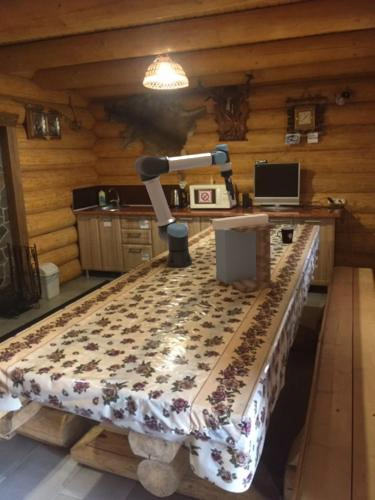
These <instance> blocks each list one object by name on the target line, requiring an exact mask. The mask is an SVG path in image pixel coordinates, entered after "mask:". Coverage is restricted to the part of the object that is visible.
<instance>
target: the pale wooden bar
mask: <svg viewBox="0 0 375 500" xmlns="http://www.w3.org/2000/svg"><path fill="white" fill-rule="evenodd" d="M211 220H212V222H211V223H212V229H214V230H215V229H216V230H219V229H227V228H236V227H244V226H252V225H260V224H268V222H269V214H266V213H257V214H255V213H254V214H248V215H240V216H237V215H236V216H230V217H222V218H214V219H211Z"/></svg>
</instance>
